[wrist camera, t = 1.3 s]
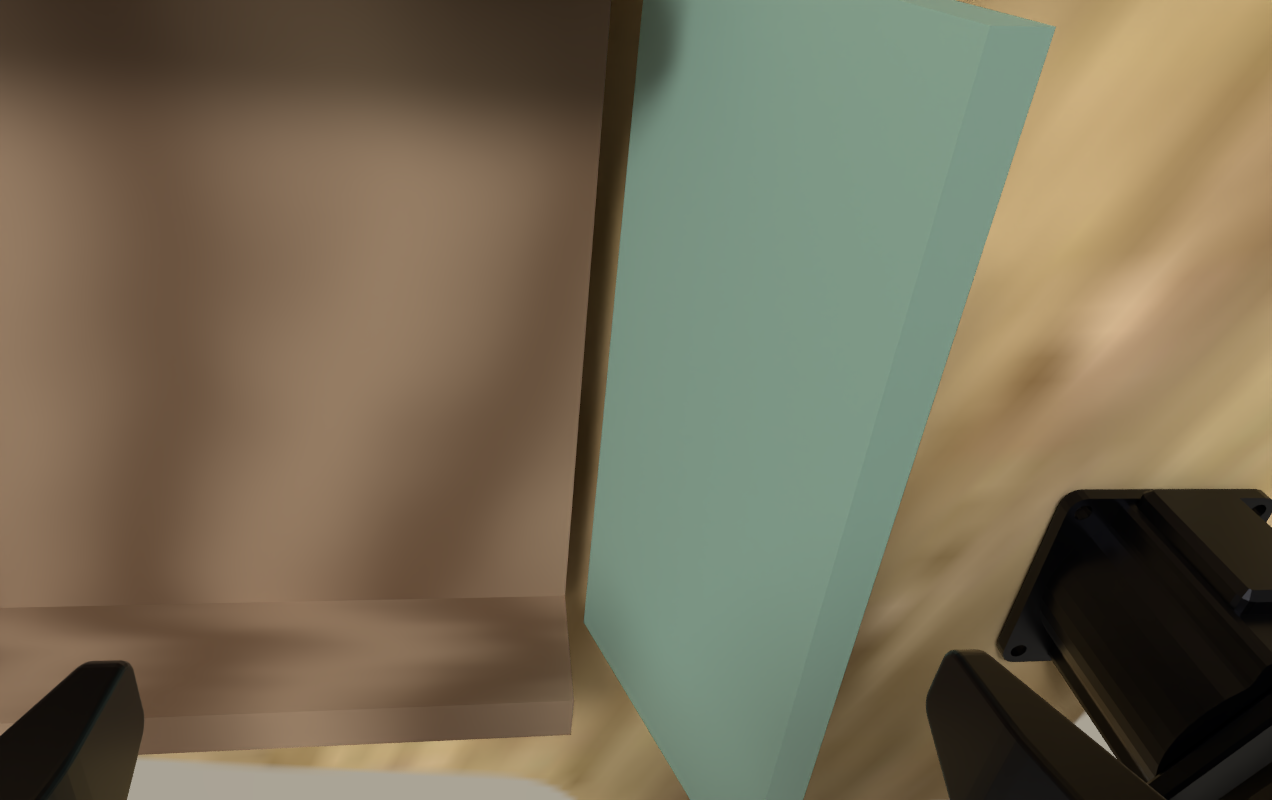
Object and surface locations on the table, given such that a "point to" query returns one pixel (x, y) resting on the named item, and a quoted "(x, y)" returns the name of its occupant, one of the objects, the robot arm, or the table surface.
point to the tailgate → (783, 347)
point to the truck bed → (295, 360)
